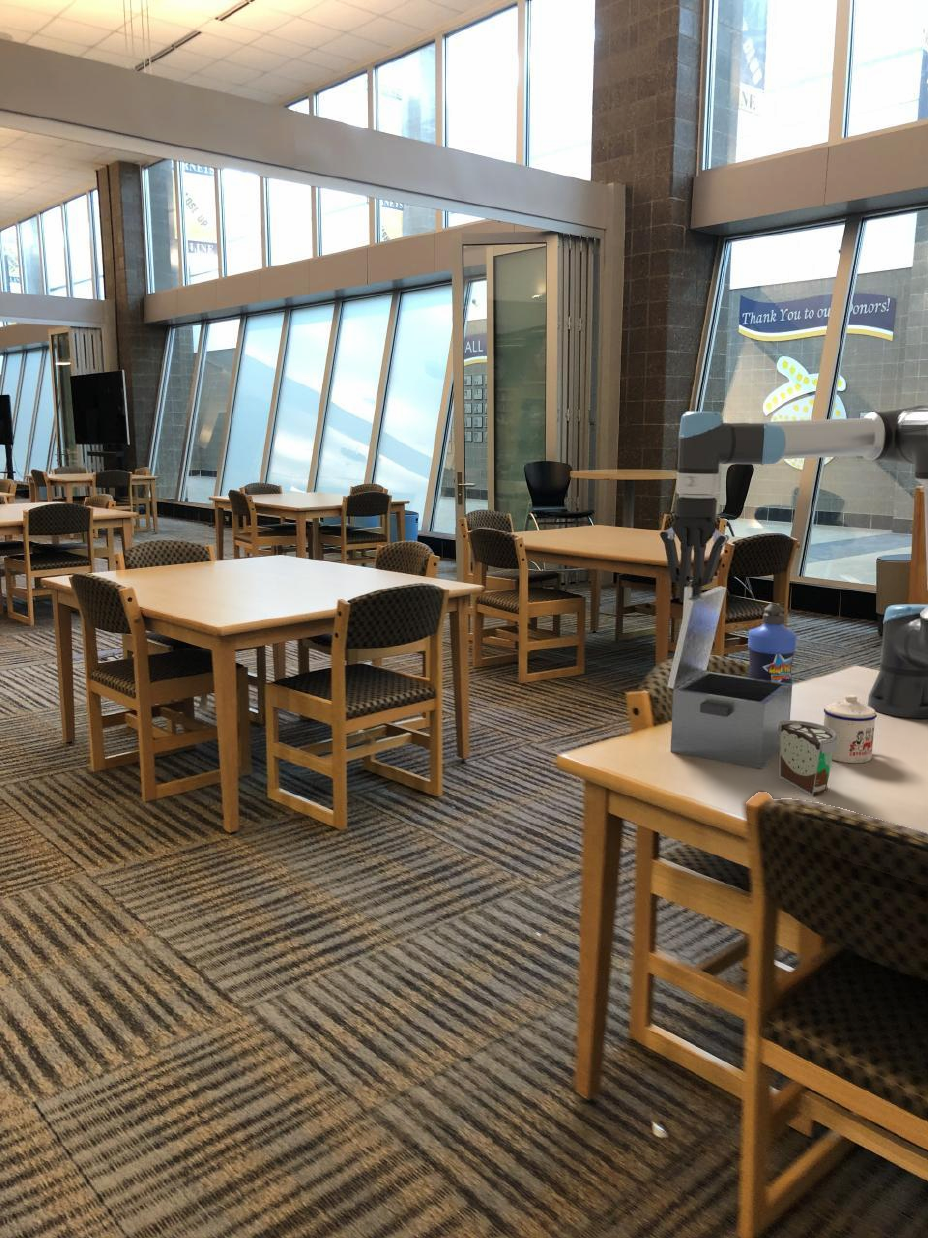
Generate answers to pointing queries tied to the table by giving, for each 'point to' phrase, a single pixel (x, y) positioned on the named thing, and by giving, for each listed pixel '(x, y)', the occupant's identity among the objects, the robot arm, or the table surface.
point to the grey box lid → (696, 636)
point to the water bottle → (772, 648)
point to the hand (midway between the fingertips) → (688, 619)
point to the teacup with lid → (851, 729)
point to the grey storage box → (729, 718)
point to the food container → (806, 754)
